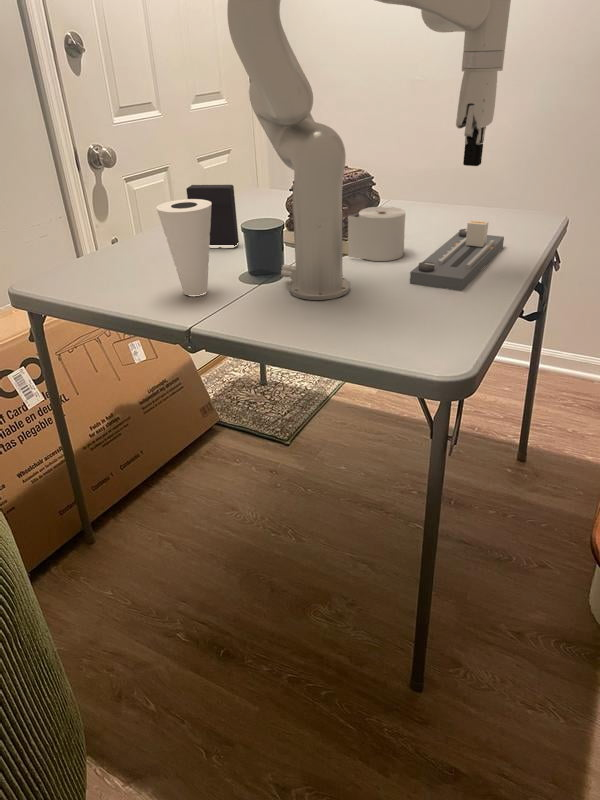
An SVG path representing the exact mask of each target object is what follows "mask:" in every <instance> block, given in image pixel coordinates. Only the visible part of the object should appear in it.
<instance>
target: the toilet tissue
mask: <svg viewBox="0 0 600 800" xmlns="http://www.w3.org/2000/svg"><path fill="white" fill-rule="evenodd" d="M405 229H406V211H405V209H402V208H400V207H395V206H373V207H372V206H371V207H367V208H363V209H361V210H360V211H358V216H353V215H348V216H347V249H348V250H347V253H348V254H347V256H348V257H349V258H354V259H360V260H361V259H362V260H366V261H373V262H387V261H388V262H389V261H395V260H399V259H400V258H403V256H404V253H405Z"/></svg>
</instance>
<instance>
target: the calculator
mask: <svg viewBox="0 0 600 800" xmlns="http://www.w3.org/2000/svg"><path fill="white" fill-rule="evenodd" d="M186 197H187V198H186V199H202V200H207V201H210V202H211V203H212V205H211V227H210V245H234V246H235V245H237V243H238V242H239V243H240V241H239V231H238V230H239V229H238V219H237V210H236V209H237V208H236V207H237V206H236V202H235V201H236V200H235V199H236V198H235V188H234V185H233V184H191V185H190V186H188V187H187V188H186Z"/></svg>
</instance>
